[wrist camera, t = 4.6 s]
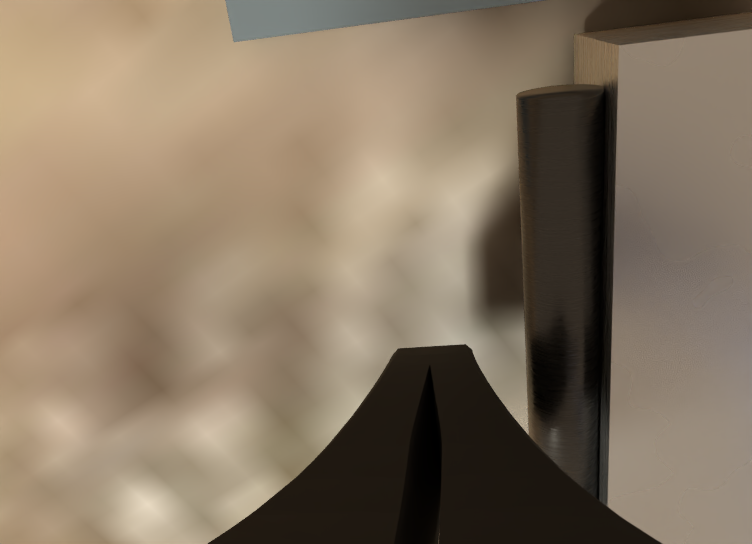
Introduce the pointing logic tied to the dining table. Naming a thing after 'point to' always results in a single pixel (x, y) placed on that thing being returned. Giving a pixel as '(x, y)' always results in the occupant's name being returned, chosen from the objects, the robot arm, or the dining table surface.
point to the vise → (335, 14)
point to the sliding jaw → (645, 274)
